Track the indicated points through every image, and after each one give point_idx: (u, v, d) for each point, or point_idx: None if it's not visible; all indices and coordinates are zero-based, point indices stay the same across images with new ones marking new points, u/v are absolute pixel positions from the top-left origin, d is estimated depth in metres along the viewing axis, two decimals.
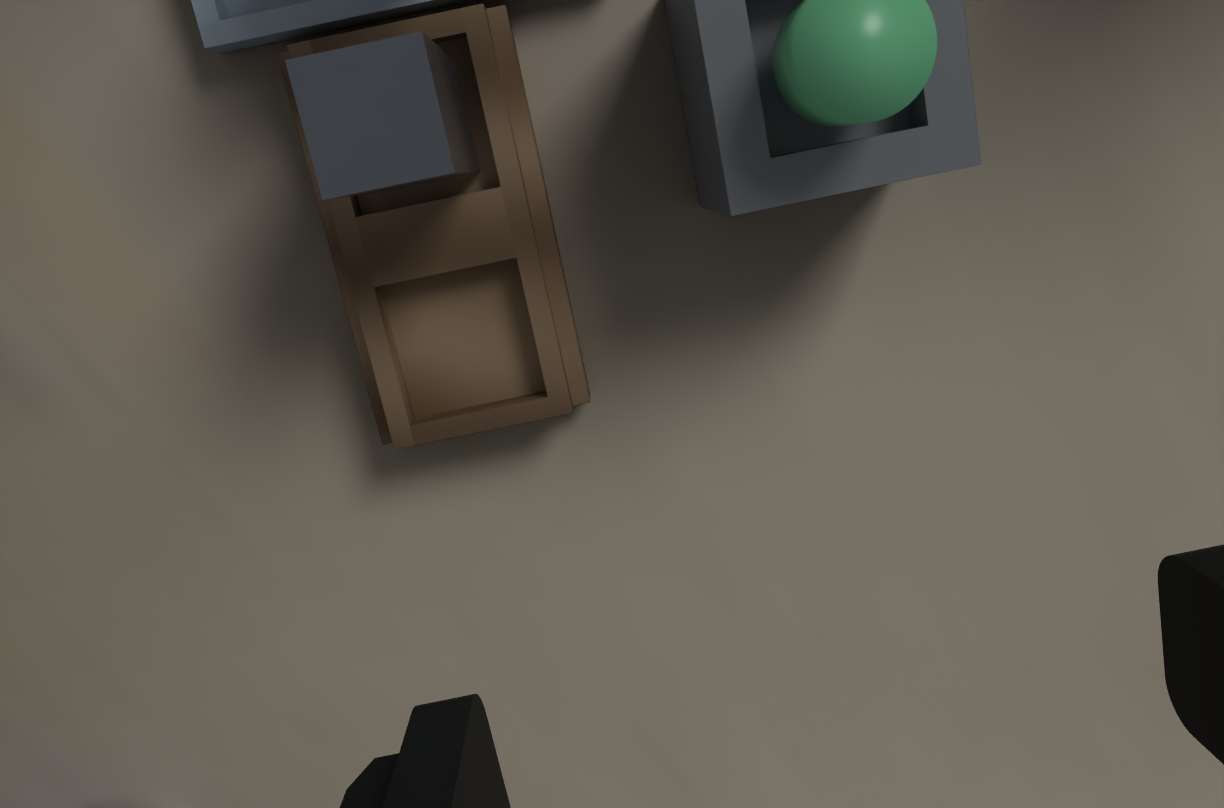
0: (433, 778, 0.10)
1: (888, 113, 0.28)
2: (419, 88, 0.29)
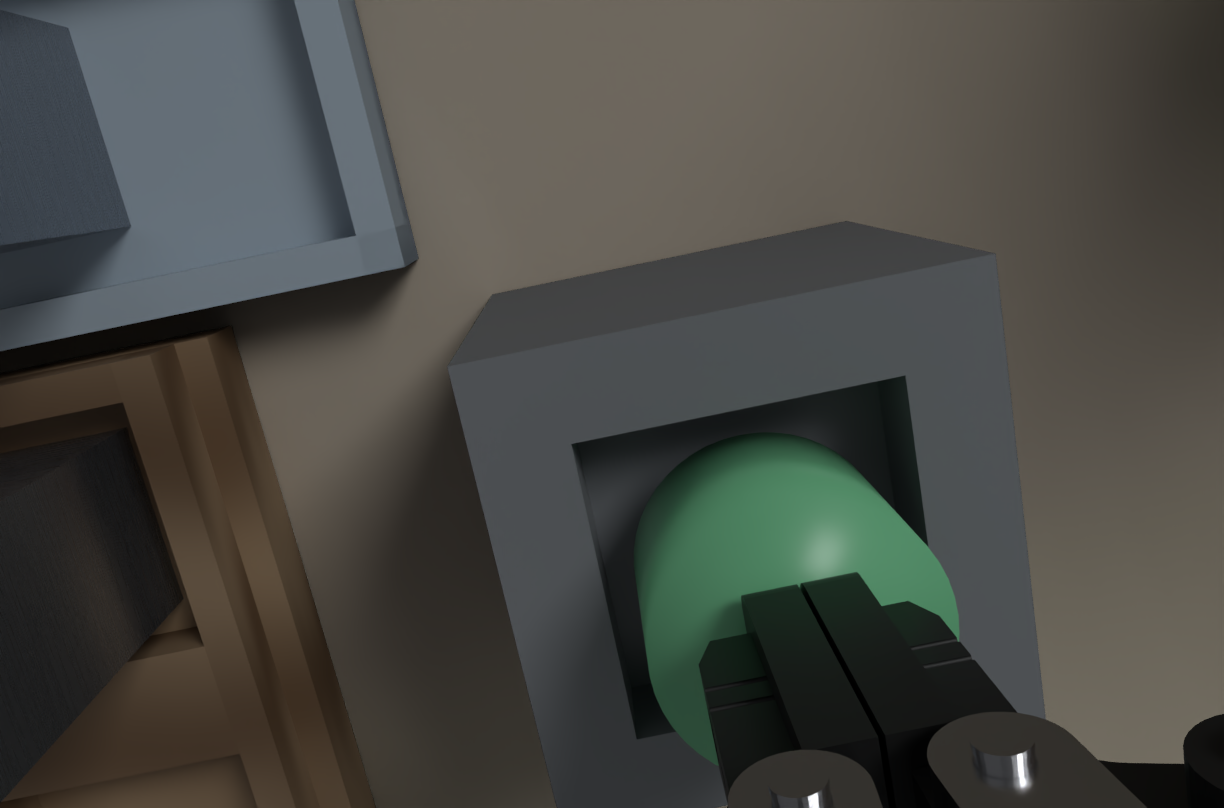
0: (804, 644, 0.11)
1: None
2: None
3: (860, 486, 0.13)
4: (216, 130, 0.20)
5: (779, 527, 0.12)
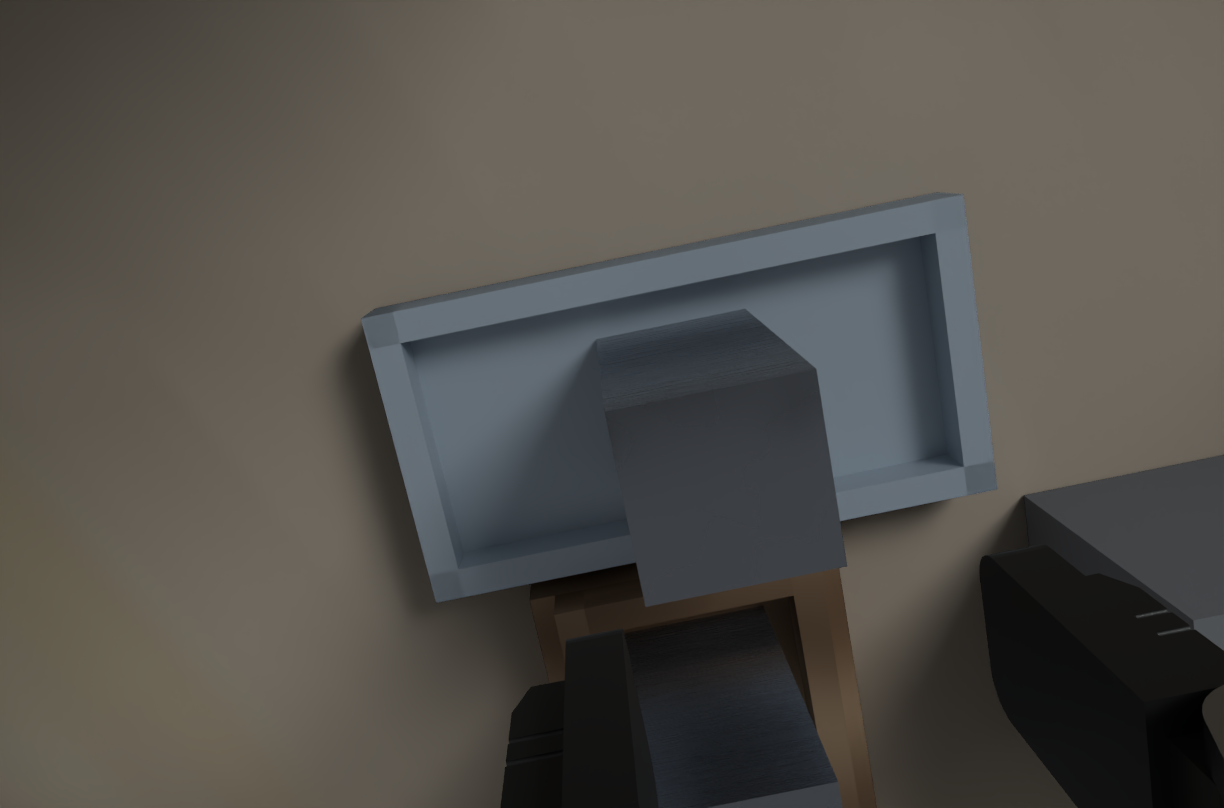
0: (605, 696, 0.10)
1: None
2: None
3: None
4: (844, 381, 0.27)
5: None
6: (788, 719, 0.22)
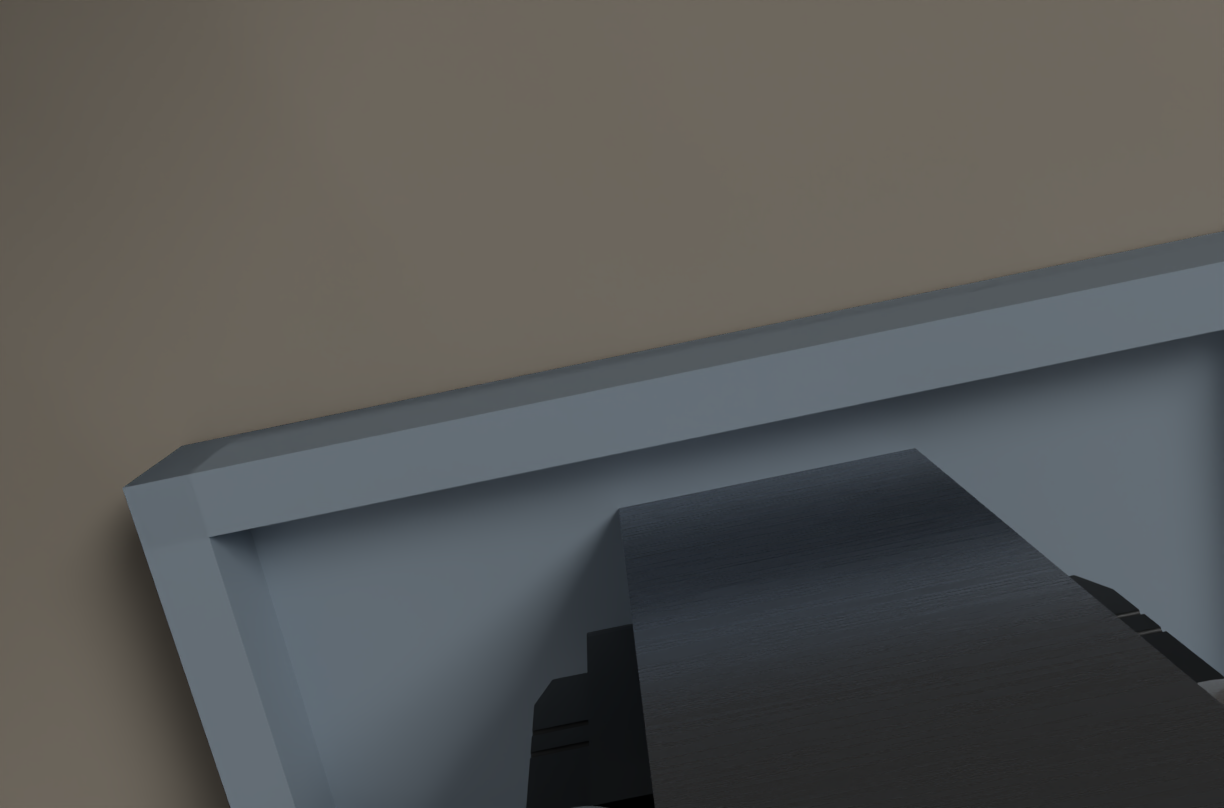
0: (628, 687, 0.10)
1: None
2: None
3: None
4: (1101, 584, 0.14)
5: None
6: None
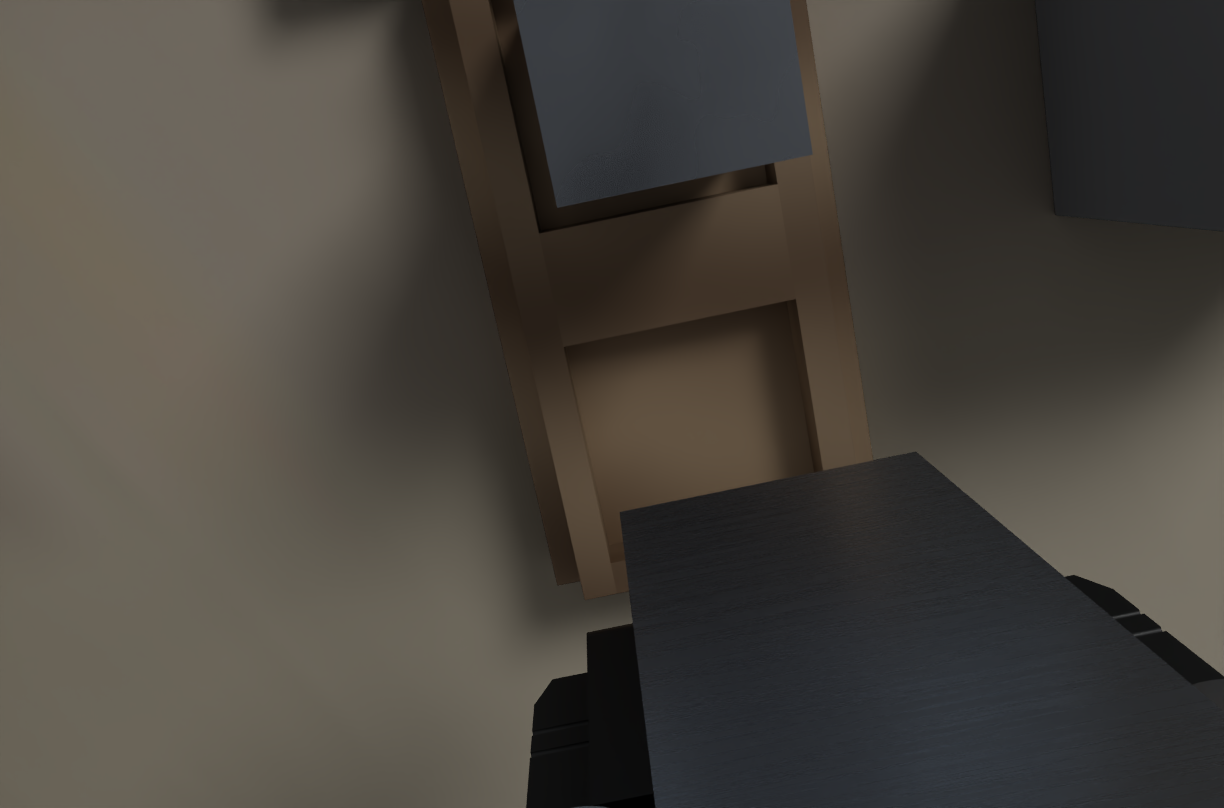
0: (629, 688, 0.10)
1: None
2: None
3: None
4: None
5: None
6: None
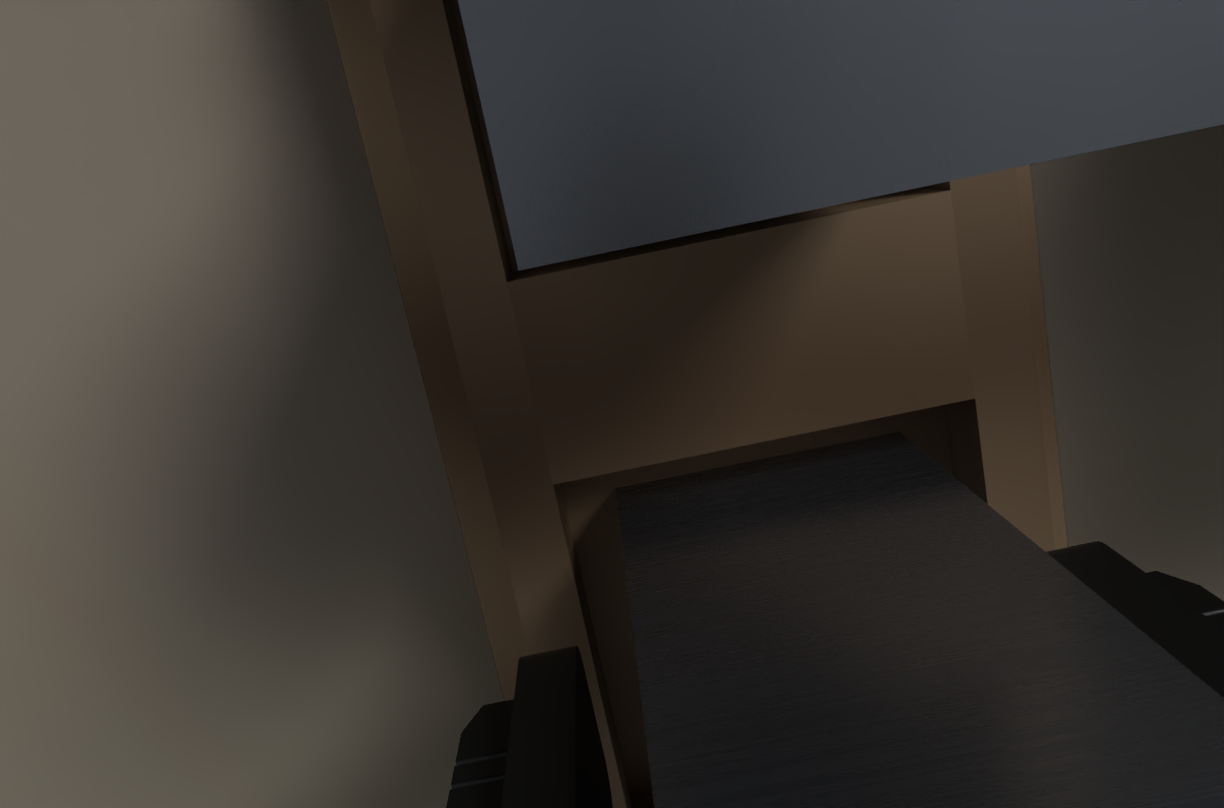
0: (552, 717, 0.10)
1: None
2: None
3: None
4: None
5: None
6: None
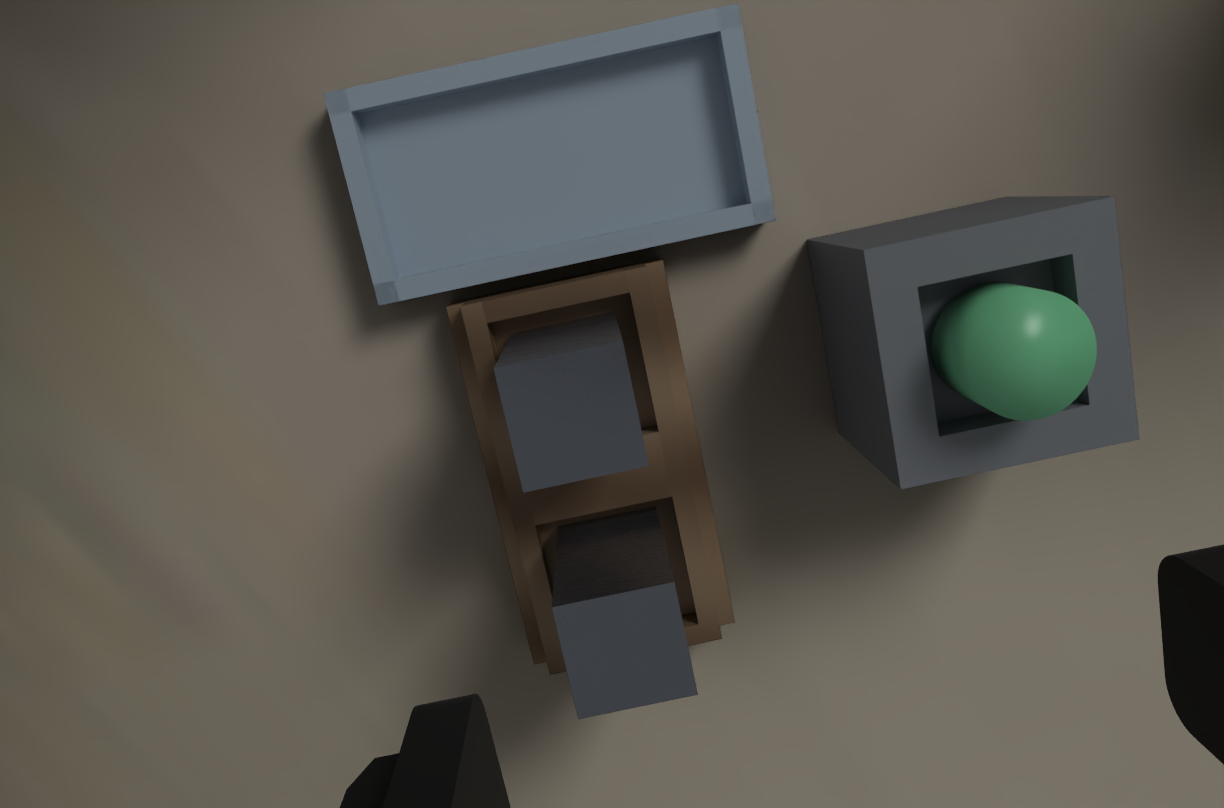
0: (433, 778, 0.10)
1: (1051, 412, 0.30)
2: (618, 391, 0.30)
3: None
4: (668, 148, 0.38)
5: (1022, 303, 0.30)
6: (605, 333, 0.32)
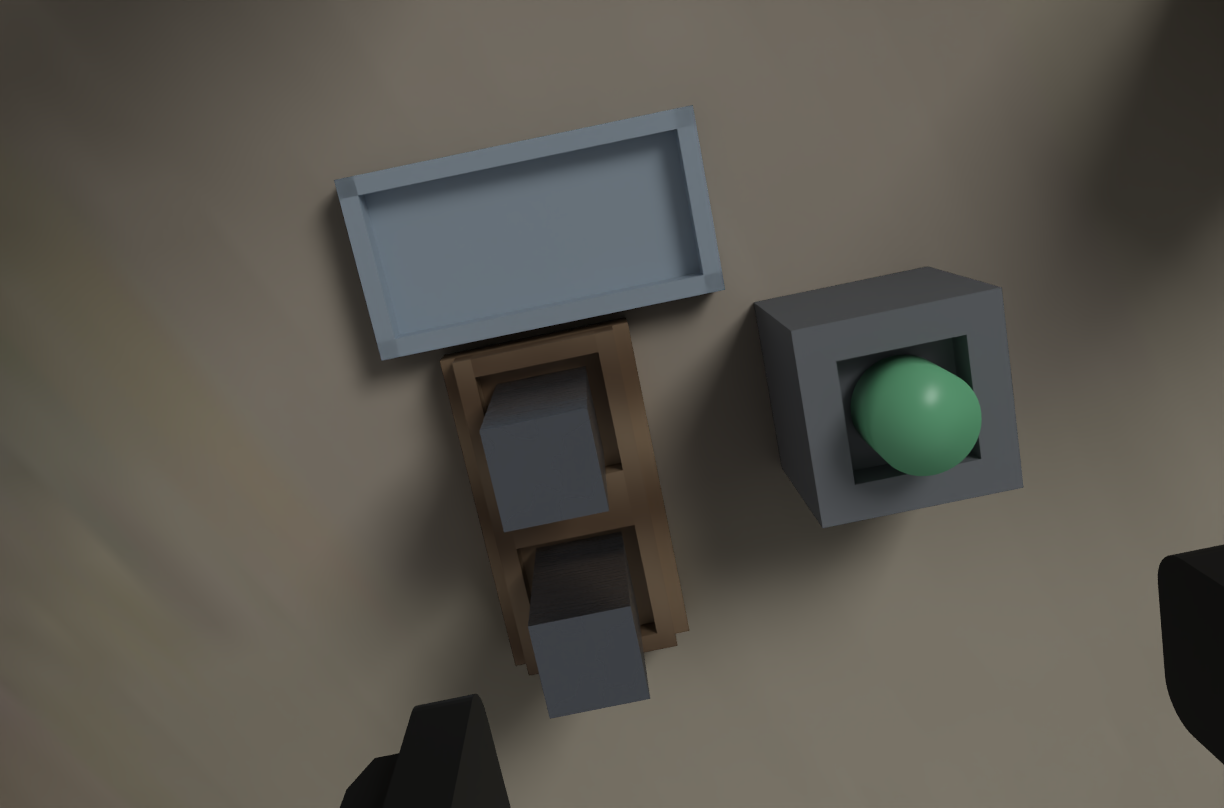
0: (433, 778, 0.10)
1: (943, 469, 0.37)
2: (583, 450, 0.36)
3: None
4: (633, 224, 0.43)
5: (920, 380, 0.36)
6: (574, 396, 0.38)
